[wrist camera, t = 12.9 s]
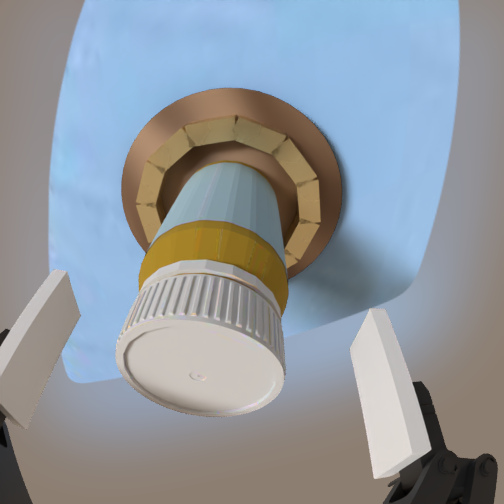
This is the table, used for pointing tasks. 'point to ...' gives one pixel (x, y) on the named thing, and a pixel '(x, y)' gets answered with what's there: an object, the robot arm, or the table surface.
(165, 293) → the bottle
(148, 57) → the table surface
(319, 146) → the ring tray
